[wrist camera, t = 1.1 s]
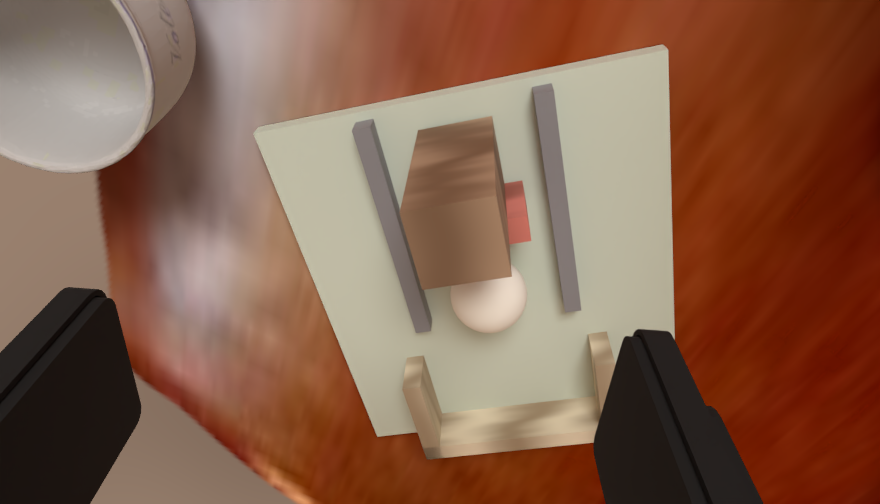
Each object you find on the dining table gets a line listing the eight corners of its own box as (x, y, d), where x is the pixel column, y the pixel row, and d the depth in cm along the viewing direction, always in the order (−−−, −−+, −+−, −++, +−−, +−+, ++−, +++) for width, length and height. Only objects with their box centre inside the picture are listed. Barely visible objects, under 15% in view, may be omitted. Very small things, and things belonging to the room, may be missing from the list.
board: (663, 44, 31) (674, 56, 29) (672, 393, 44) (680, 416, 42) (258, 126, 34) (246, 142, 32) (379, 426, 47) (375, 449, 45)
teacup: (260, 22, 31) (200, 67, 24) (147, 153, 35) (70, 222, 29) (3, -228, 26) (-162, -259, 19) (-91, -39, 30) (-253, -10, 24)
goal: (606, 331, 39) (615, 363, 37) (614, 405, 43) (622, 439, 41) (406, 357, 42) (402, 389, 39) (429, 426, 45) (426, 459, 43)
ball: (518, 236, 36) (523, 280, 32) (529, 295, 38) (534, 343, 34) (444, 248, 37) (440, 292, 33) (459, 306, 39) (457, 353, 35)
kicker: (511, 112, 32) (521, 191, 24) (526, 203, 34) (539, 300, 27) (399, 133, 32) (375, 216, 25) (423, 221, 35) (408, 319, 28)
